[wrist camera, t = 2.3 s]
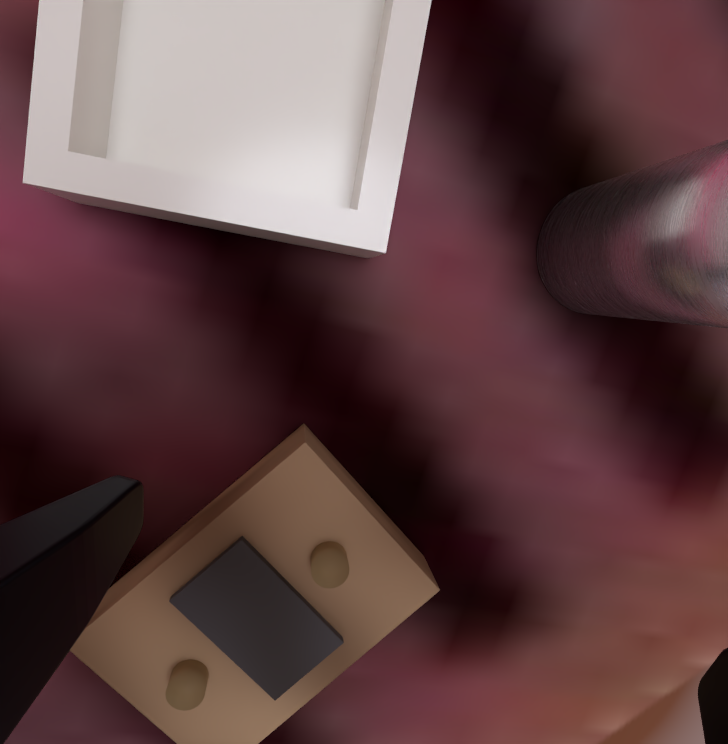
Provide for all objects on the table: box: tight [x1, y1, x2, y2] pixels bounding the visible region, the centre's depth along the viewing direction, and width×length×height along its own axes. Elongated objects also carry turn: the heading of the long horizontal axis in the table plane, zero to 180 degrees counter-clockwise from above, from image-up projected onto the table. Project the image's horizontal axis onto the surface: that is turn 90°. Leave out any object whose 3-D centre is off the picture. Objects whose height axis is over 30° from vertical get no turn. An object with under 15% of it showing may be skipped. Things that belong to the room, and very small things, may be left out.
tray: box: [23, 0, 431, 259], centre depth 16 cm, size 10×10×4 cm
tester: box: [70, 424, 440, 744], centre depth 19 cm, size 10×7×3 cm
